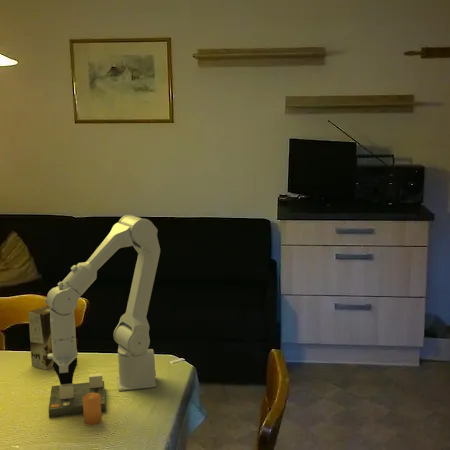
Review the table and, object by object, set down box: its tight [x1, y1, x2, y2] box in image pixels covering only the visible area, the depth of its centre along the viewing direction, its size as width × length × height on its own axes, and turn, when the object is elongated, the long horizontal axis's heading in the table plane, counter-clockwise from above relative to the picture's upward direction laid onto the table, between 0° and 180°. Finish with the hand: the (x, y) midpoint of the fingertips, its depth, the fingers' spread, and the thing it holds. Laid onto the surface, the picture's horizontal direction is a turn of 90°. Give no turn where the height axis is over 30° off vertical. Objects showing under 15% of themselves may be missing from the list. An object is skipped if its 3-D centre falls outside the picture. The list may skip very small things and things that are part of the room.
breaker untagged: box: [88, 372, 104, 388], centre depth 154 cm, size 3×2×3 cm, turn 102°
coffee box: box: [28, 305, 54, 371], centre depth 173 cm, size 9×6×16 cm
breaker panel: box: [47, 380, 107, 419], centre depth 150 cm, size 13×13×2 cm
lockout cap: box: [82, 393, 103, 426], centre depth 140 cm, size 4×4×6 cm
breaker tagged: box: [58, 382, 74, 399], centre depth 148 cm, size 3×2×3 cm, turn 102°
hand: (66, 389), depth 150 cm, fingers closed
